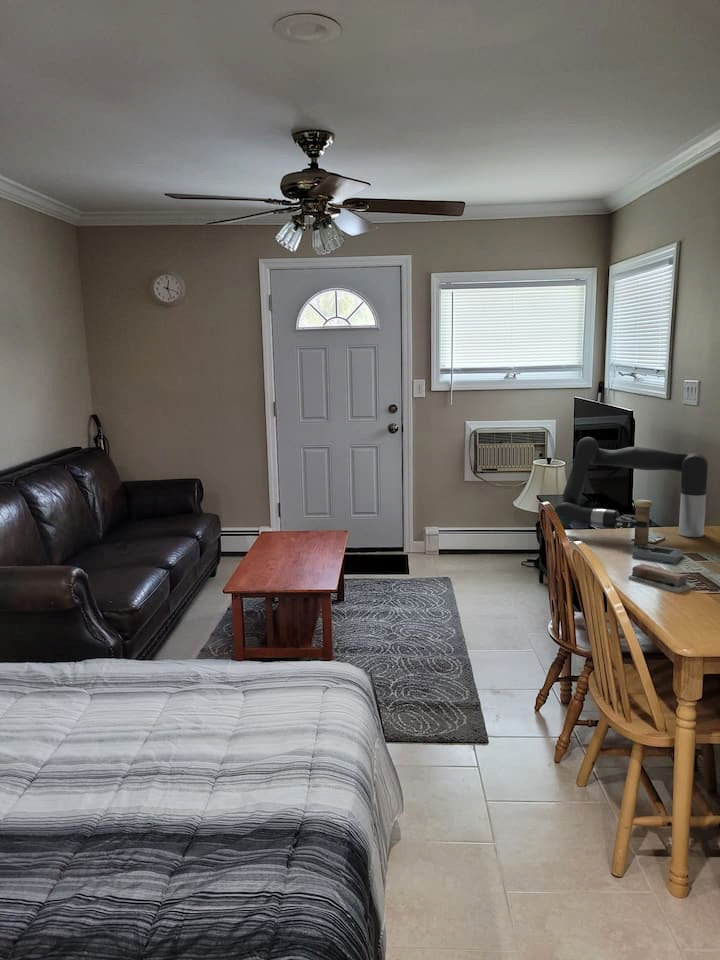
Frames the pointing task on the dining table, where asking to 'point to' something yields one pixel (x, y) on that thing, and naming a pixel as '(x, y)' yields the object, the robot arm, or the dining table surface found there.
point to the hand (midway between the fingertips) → (649, 523)
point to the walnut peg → (643, 516)
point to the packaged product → (660, 578)
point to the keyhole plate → (657, 553)
